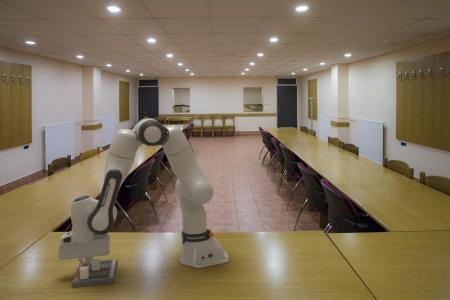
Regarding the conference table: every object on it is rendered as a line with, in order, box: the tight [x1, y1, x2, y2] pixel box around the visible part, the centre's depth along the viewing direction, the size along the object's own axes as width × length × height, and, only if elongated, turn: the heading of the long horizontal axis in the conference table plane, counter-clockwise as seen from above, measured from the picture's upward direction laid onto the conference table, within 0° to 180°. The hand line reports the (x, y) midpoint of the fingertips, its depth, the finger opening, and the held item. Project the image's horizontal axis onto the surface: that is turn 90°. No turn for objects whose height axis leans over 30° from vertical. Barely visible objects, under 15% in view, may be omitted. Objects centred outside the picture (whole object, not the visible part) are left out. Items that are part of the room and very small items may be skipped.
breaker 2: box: [84, 256, 94, 264], centre depth 160 cm, size 3×3×4 cm
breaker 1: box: [80, 266, 89, 279], centre depth 147 cm, size 3×3×4 cm
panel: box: [71, 258, 118, 289], centre depth 155 cm, size 16×20×2 cm
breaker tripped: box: [91, 257, 101, 271], centre depth 154 cm, size 3×3×4 cm
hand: (85, 266), depth 154 cm, fingers closed
